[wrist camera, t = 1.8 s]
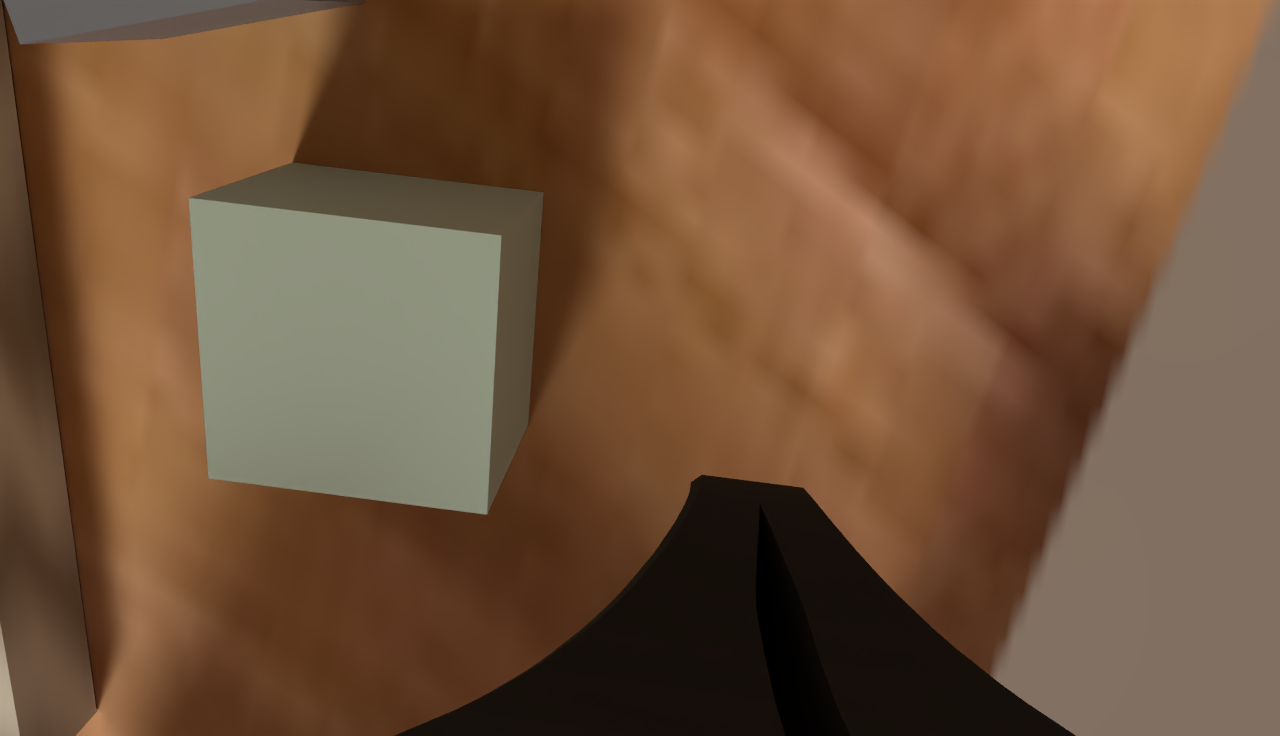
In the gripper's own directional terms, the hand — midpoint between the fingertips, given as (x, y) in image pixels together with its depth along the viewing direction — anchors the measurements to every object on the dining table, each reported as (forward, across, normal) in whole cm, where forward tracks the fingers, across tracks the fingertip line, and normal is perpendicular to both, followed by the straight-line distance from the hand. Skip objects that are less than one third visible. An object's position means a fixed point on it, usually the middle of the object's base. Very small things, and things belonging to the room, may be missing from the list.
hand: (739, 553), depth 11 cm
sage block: (+8, +6, 0) cm, 11 cm away
